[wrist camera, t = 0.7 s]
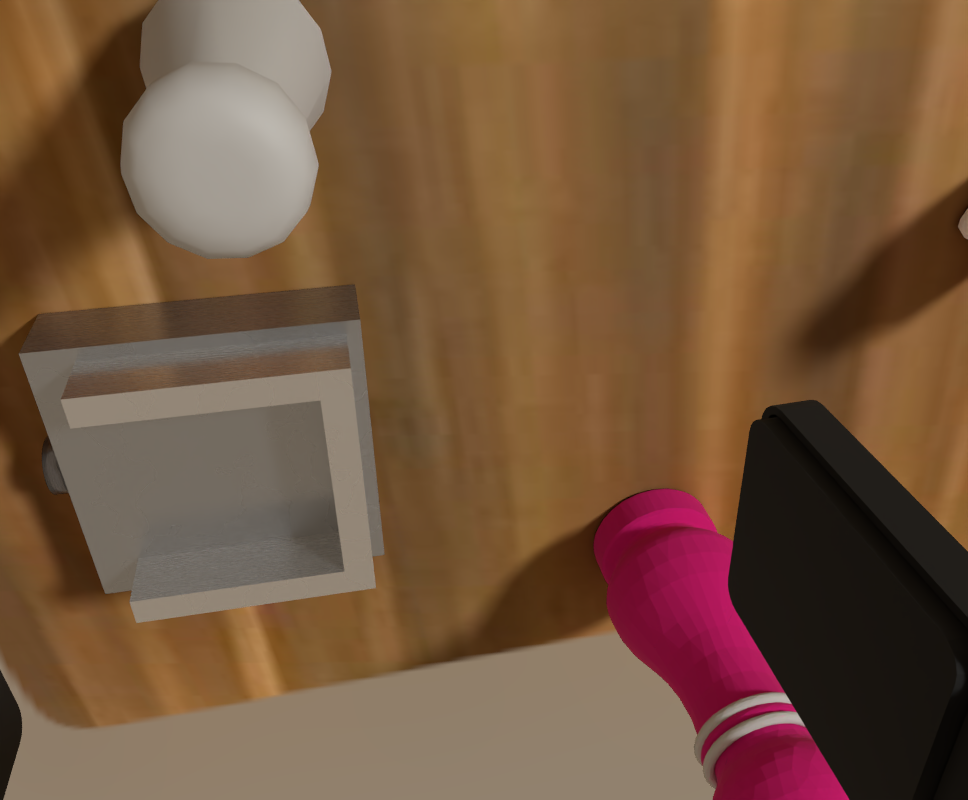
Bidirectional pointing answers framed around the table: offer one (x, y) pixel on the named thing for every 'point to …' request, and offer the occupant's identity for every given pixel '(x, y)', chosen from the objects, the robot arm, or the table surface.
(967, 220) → the salt shaker
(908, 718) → the robot arm
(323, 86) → the salt shaker
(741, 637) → the pepper mill
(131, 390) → the grey square tray
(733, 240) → the table surface
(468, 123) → the table surface
